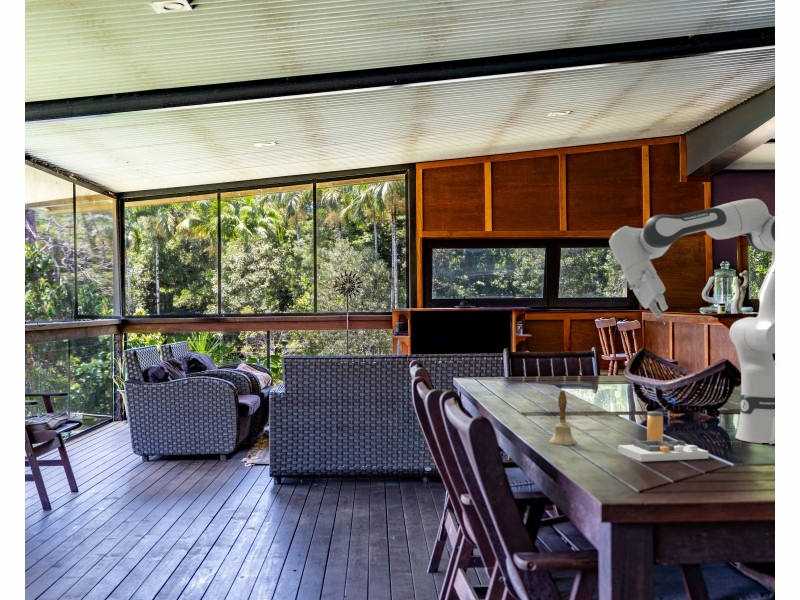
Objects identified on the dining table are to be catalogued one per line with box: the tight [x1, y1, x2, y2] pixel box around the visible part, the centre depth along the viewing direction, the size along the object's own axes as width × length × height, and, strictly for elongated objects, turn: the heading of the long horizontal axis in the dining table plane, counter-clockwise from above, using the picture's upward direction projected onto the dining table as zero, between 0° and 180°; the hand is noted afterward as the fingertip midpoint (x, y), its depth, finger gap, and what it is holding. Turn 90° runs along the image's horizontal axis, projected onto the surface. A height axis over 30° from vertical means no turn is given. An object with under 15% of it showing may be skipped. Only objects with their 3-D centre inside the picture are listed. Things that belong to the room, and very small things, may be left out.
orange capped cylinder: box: [646, 410, 664, 441], centre depth 212 cm, size 4×4×10 cm
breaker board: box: [617, 440, 709, 462], centre depth 198 cm, size 21×12×3 cm, turn 102°
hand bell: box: [548, 390, 578, 446], centre depth 215 cm, size 8×8×16 cm
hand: (662, 313), depth 215 cm, fingers open, 8 cm apart
